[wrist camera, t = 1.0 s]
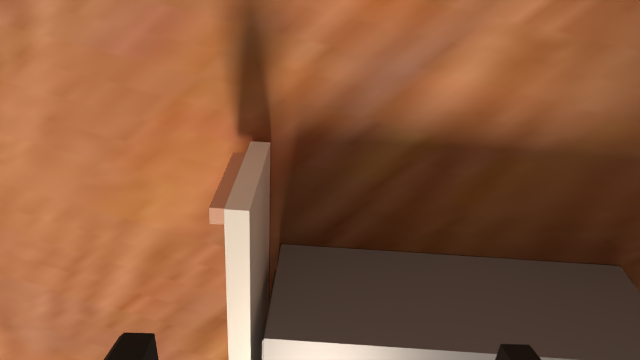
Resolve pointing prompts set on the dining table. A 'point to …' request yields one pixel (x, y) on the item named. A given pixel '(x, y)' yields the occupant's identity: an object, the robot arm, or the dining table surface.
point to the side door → (245, 247)
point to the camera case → (445, 307)
